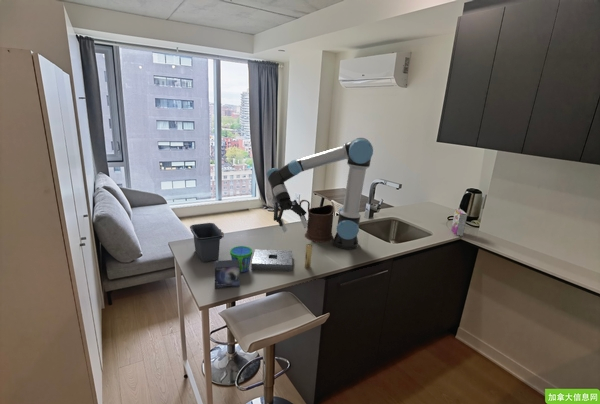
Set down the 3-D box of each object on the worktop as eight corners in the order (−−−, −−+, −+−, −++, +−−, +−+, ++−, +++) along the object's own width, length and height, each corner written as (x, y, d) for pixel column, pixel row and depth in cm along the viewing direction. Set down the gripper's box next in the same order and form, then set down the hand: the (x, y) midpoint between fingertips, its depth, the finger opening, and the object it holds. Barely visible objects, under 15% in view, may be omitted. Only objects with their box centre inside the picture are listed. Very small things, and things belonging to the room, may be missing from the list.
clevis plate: (291, 256, 166) (292, 250, 165) (291, 271, 150) (292, 264, 149) (255, 255, 165) (255, 249, 164) (251, 269, 149) (251, 263, 148)
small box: (214, 289, 131) (214, 267, 128) (214, 281, 137) (214, 260, 134) (239, 287, 134) (239, 265, 131) (238, 279, 140) (238, 259, 137)
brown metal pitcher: (338, 240, 191) (342, 202, 184) (303, 244, 182) (305, 204, 176) (325, 230, 208) (328, 194, 201) (292, 233, 199) (294, 196, 192)
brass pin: (310, 265, 157) (311, 244, 154) (310, 268, 154) (312, 246, 151) (304, 265, 157) (306, 244, 153) (304, 268, 154) (306, 246, 151)
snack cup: (249, 278, 142) (249, 258, 139) (226, 276, 142) (226, 257, 139) (254, 262, 157) (254, 244, 154) (233, 261, 157) (233, 243, 154)
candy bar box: (450, 230, 222) (455, 208, 218) (457, 231, 222) (462, 209, 217) (455, 235, 212) (460, 213, 207) (463, 236, 211) (468, 214, 207)
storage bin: (189, 249, 167) (188, 224, 163) (217, 244, 175) (216, 221, 171) (198, 266, 150) (197, 239, 146) (228, 260, 158) (228, 234, 154)
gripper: (296, 195, 176) (310, 228, 169) (259, 200, 161) (272, 236, 154) (302, 188, 171) (317, 222, 164) (264, 193, 156) (279, 230, 148)
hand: (296, 229), depth 159 cm, fingers open, 13 cm apart
